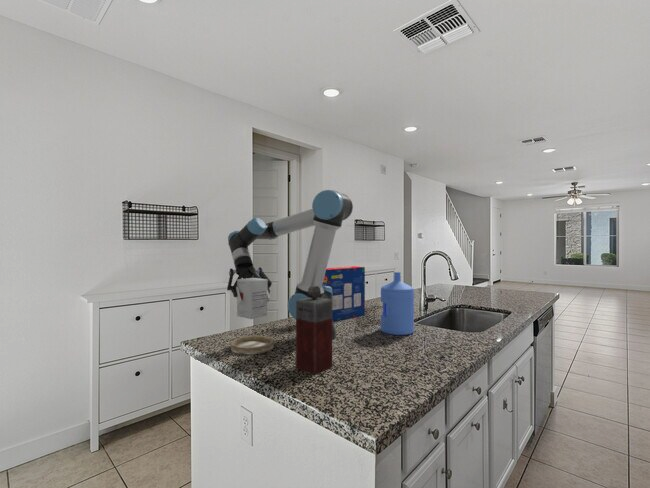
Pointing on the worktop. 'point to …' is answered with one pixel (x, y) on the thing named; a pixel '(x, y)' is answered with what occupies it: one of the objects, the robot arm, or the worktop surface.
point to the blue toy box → (346, 291)
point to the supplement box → (252, 298)
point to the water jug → (397, 307)
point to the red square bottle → (314, 332)
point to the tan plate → (252, 344)
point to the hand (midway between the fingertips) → (254, 301)
